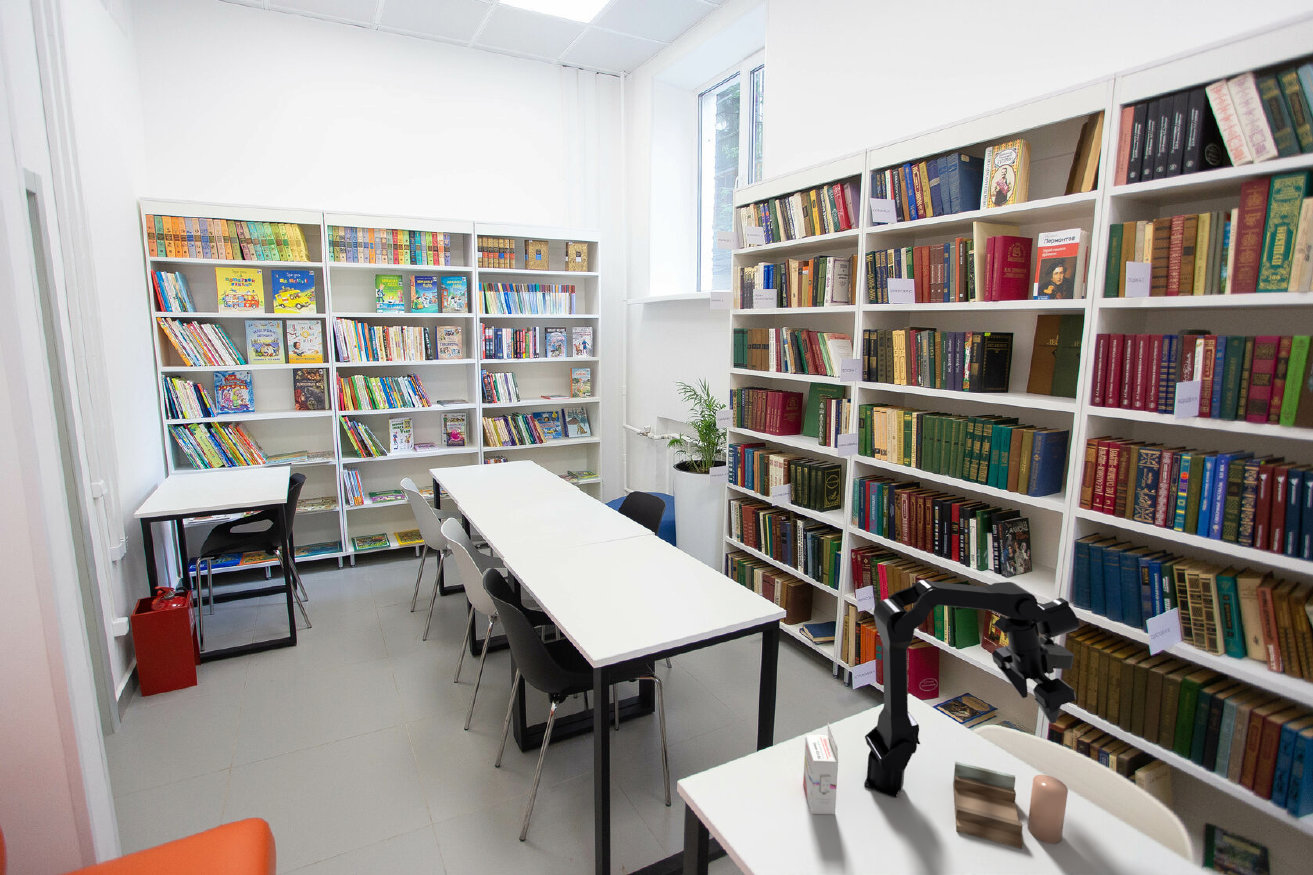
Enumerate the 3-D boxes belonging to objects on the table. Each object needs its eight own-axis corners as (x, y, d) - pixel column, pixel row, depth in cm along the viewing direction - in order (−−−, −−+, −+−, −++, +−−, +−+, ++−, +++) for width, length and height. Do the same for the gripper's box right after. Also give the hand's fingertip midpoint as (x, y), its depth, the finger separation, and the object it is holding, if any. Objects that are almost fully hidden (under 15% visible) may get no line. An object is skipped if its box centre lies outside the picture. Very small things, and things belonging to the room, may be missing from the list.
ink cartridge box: (801, 784, 135) (805, 719, 133) (825, 785, 135) (829, 720, 133) (810, 814, 127) (814, 746, 124) (835, 815, 127) (840, 747, 124)
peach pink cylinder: (1026, 835, 122) (1032, 787, 121) (1028, 816, 127) (1033, 770, 125) (1061, 848, 119) (1067, 799, 118) (1061, 828, 124) (1067, 781, 123)
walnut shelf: (956, 830, 123) (958, 806, 122) (953, 783, 136) (955, 761, 135) (1021, 848, 119) (1025, 823, 118) (1012, 798, 132) (1015, 775, 131)
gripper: (1095, 654, 124) (1108, 724, 126) (1033, 611, 142) (1045, 674, 145) (1040, 671, 123) (1054, 742, 126) (984, 627, 142) (998, 689, 145)
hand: (1038, 709), depth 135 cm, fingers open, 9 cm apart
